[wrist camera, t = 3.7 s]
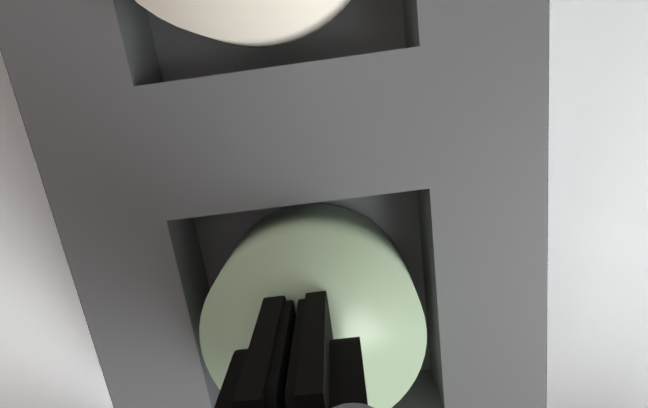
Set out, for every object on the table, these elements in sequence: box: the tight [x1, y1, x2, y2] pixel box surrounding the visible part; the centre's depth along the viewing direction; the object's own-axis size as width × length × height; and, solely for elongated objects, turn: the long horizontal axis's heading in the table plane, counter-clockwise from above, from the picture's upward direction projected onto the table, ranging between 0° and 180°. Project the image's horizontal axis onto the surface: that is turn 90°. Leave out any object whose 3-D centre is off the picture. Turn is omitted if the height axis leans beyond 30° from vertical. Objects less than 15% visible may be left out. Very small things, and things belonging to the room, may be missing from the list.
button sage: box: [199, 204, 427, 408], centre depth 13 cm, size 6×6×3 cm
